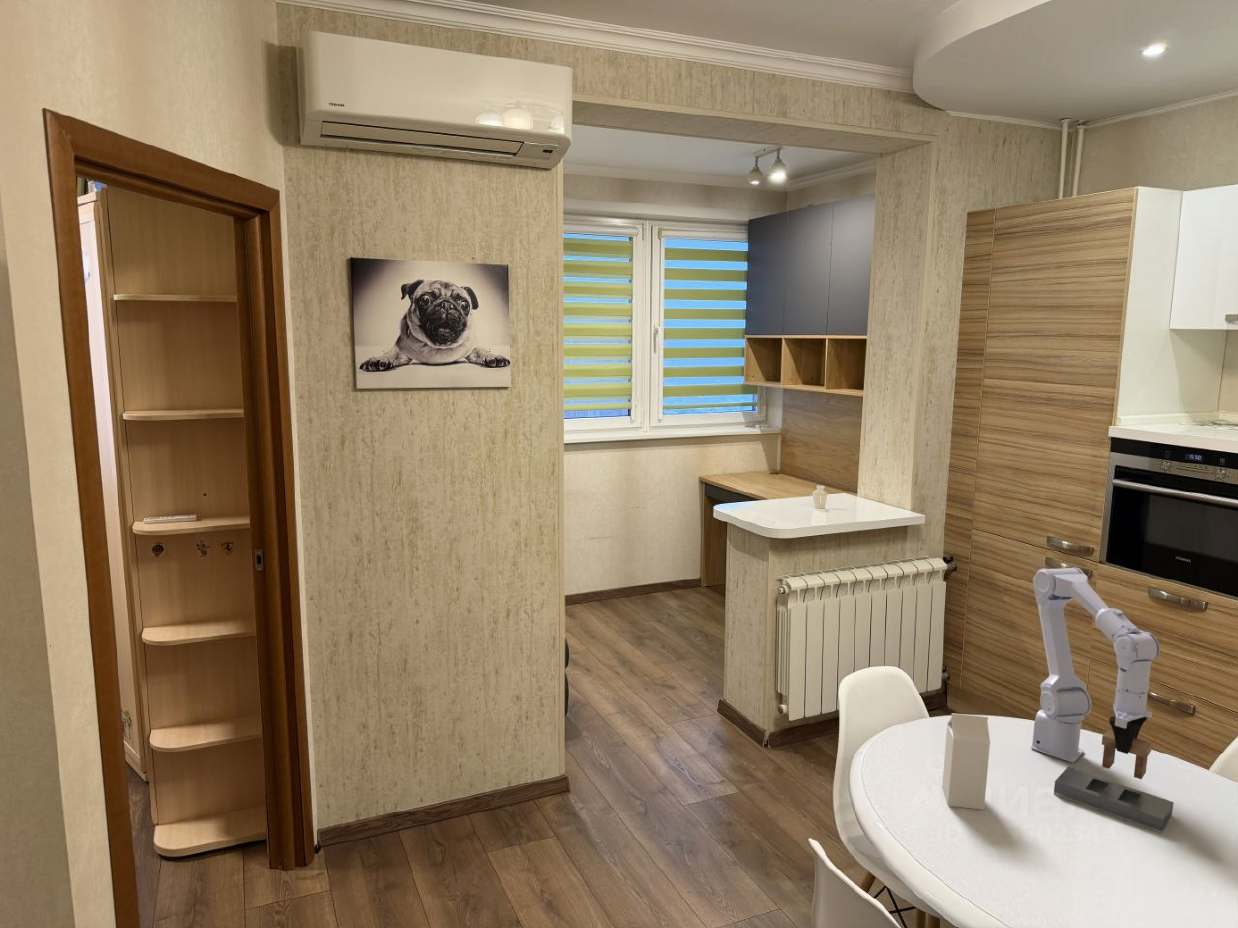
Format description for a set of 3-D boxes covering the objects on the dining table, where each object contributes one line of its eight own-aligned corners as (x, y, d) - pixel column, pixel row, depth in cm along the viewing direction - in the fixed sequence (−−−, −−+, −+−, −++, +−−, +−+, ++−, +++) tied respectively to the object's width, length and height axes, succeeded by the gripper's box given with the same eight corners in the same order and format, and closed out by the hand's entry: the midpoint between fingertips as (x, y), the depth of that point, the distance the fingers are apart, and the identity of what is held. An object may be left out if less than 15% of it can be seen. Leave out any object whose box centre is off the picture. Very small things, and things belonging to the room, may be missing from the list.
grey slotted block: (1053, 793, 178) (1055, 780, 178) (1066, 778, 184) (1068, 766, 184) (1161, 833, 164) (1163, 819, 164) (1171, 815, 171) (1173, 802, 170)
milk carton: (984, 810, 171) (991, 724, 168) (947, 806, 173) (955, 720, 170) (976, 792, 178) (983, 709, 175) (941, 788, 180) (948, 706, 177)
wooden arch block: (1099, 765, 179) (1102, 735, 178) (1104, 759, 182) (1107, 729, 181) (1144, 780, 174) (1147, 748, 173) (1148, 773, 176) (1151, 742, 175)
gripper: (1145, 704, 167) (1138, 766, 169) (1161, 684, 178) (1154, 743, 180) (1106, 693, 172) (1100, 754, 174) (1124, 674, 183) (1117, 732, 185)
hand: (1125, 748), depth 177 cm, fingers closed on wooden arch block, 4 cm apart
